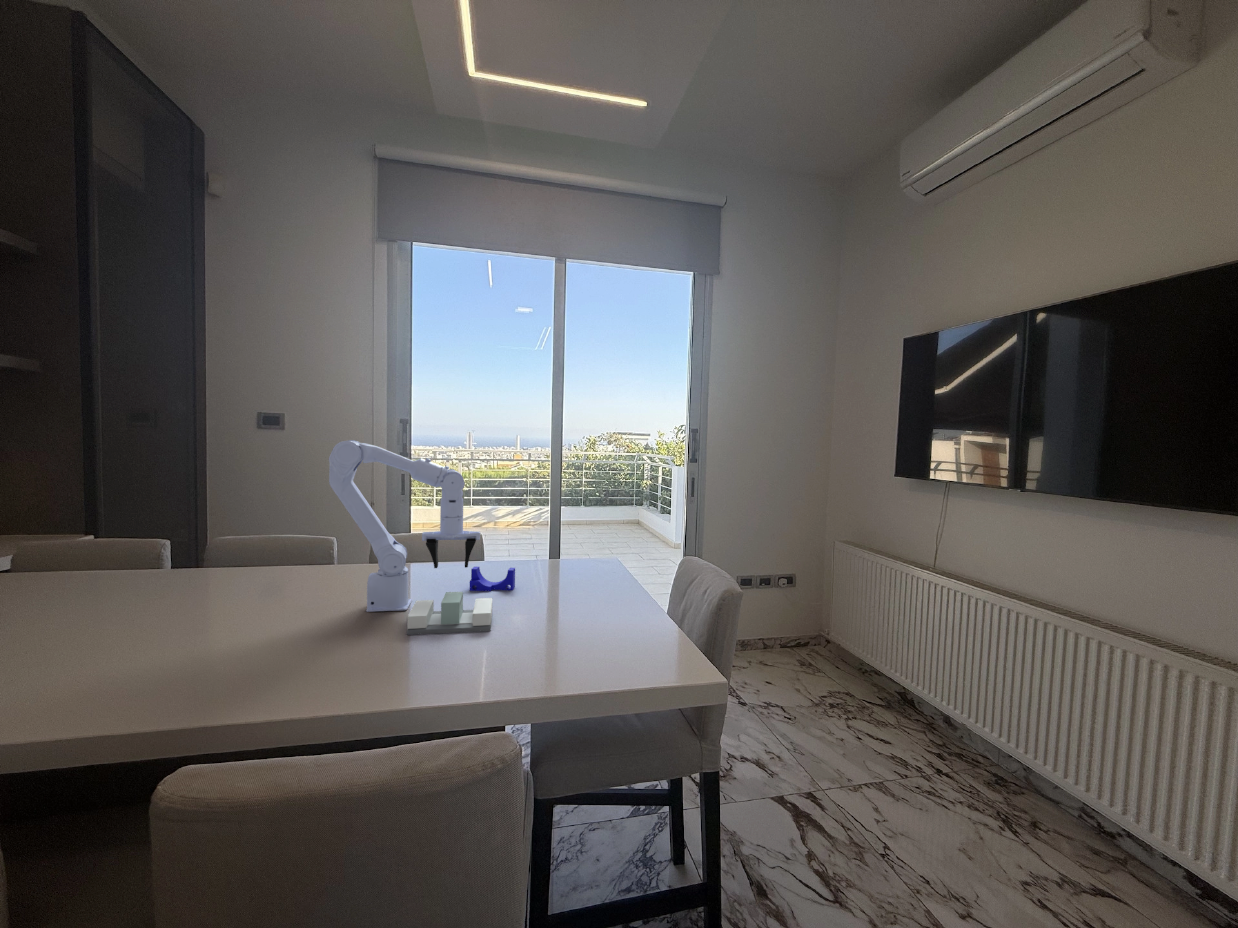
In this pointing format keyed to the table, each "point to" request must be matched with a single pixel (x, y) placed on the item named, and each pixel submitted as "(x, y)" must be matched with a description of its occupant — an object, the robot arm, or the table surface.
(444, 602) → the block
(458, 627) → the white and grey fixture
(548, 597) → the table surface
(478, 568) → the blue cradle bracket
